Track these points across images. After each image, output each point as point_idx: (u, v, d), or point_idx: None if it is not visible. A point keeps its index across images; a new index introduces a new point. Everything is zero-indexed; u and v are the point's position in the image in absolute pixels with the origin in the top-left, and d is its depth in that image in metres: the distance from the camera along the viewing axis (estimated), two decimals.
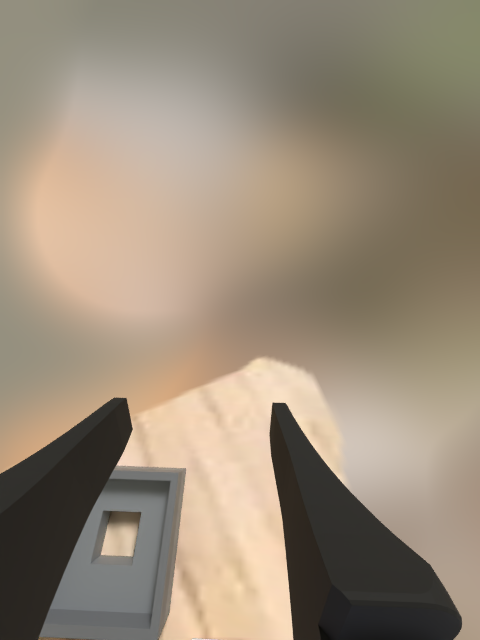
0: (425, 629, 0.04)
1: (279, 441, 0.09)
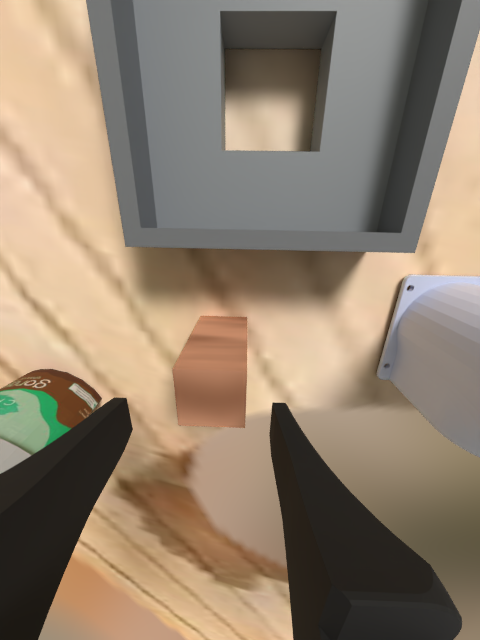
0: (425, 629, 0.04)
1: (279, 441, 0.09)
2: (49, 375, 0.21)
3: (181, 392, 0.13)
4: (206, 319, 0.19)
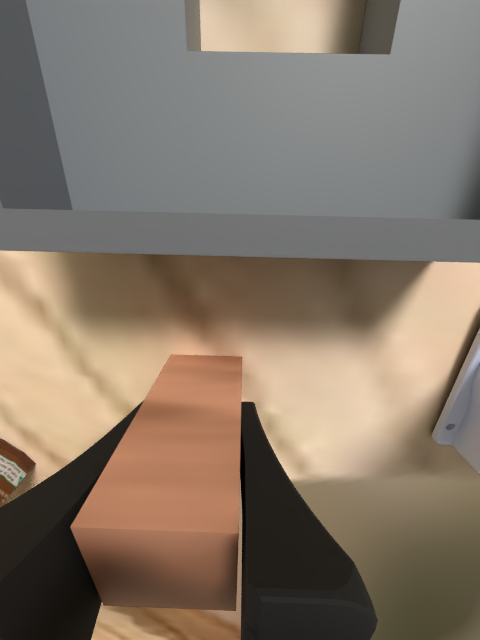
0: (341, 626, 0.04)
1: (241, 440, 0.09)
2: None
3: (99, 561, 0.06)
4: (178, 362, 0.12)
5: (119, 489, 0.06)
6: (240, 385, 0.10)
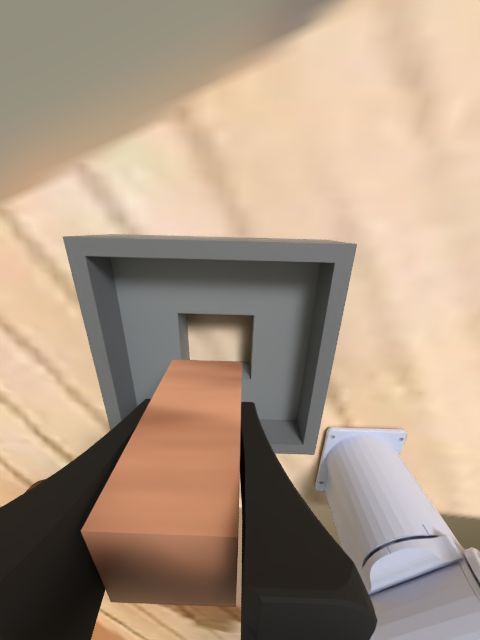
0: (341, 626, 0.04)
1: (241, 440, 0.09)
2: None
3: (107, 562, 0.06)
4: (179, 367, 0.12)
5: (125, 494, 0.07)
6: (240, 391, 0.11)
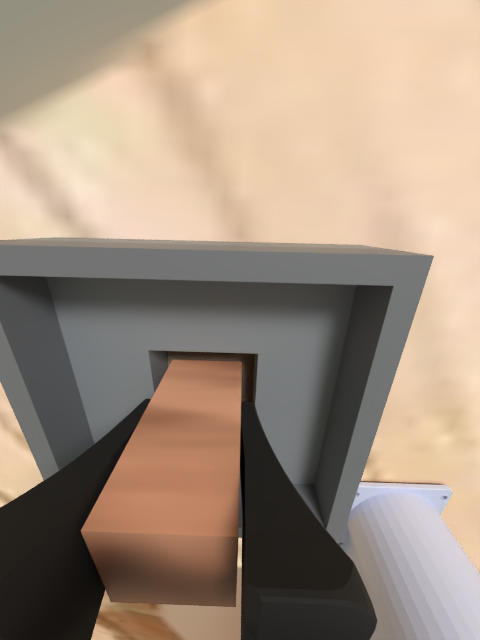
0: (341, 626, 0.04)
1: (241, 440, 0.09)
2: None
3: (107, 562, 0.06)
4: (179, 367, 0.12)
5: (125, 494, 0.07)
6: (240, 391, 0.11)
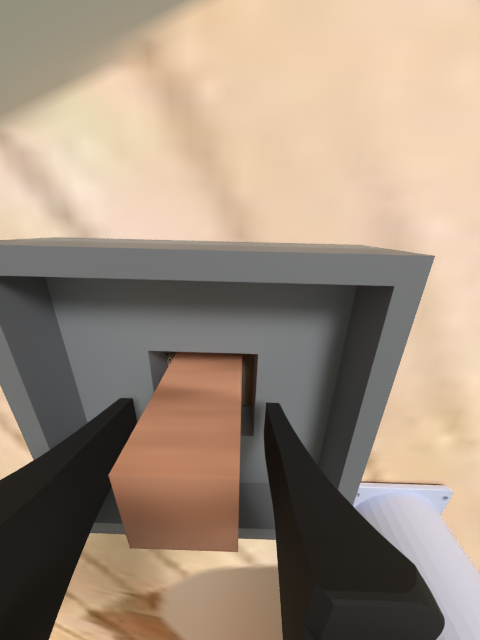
0: (408, 628, 0.04)
1: (271, 441, 0.09)
2: None
3: (128, 506, 0.08)
4: (185, 354, 0.14)
5: (144, 450, 0.08)
6: (240, 373, 0.12)
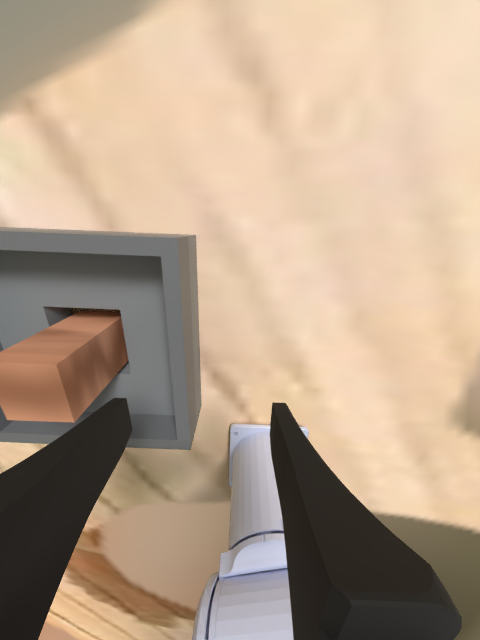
0: (425, 629, 0.04)
1: (279, 441, 0.09)
2: None
3: None
4: (82, 314, 0.19)
5: (9, 354, 0.13)
6: (111, 323, 0.17)
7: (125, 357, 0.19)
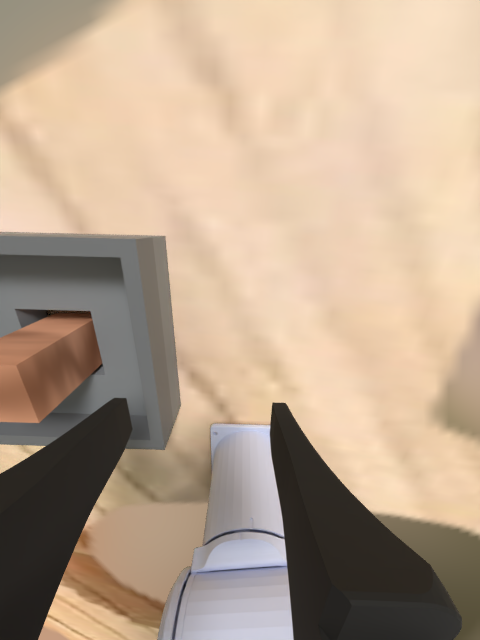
0: (425, 629, 0.04)
1: (279, 441, 0.09)
2: None
3: None
4: (56, 316, 0.19)
5: None
6: (82, 325, 0.17)
7: (100, 358, 0.19)
